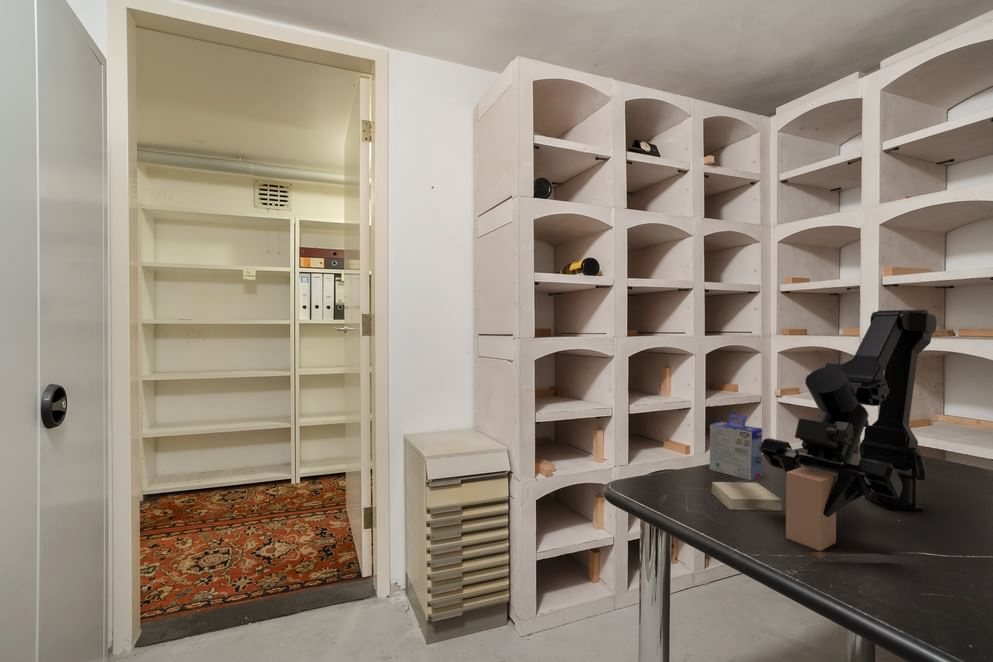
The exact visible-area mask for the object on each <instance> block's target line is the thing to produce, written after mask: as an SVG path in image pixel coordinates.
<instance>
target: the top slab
mask: <svg viewBox="0 0 993 662" xmlns="http://www.w3.org/2000/svg"><path fill="white" fill-rule="evenodd" d="M711 491H712V492H713V493H714V494H715V495H716V496H717V497H718V498H720V499H721V500H722V501H723V502H724V503H725V504H726V505H727V506H728V507H729V508H731V509H735V511H736V510H737V511H770V510H780V511H782V510H783V509H782V505H783V503H782V499H781V497H778V496H777V495H775V494H774V493H772V491H769V489H767V488H765V487H764V486H762V485H761V484H760V483H758V482H741V481H740V482H737V481H735V482H734V481H733V482H732V481H731V482H730V481H726V482H725V481H712V482H711ZM712 492H711V493H712ZM713 493H712V494H713ZM714 494H713V495H714ZM715 495H714V496H715ZM716 496H715V497H716ZM717 497H716V498H717ZM718 498H717V499H718ZM726 505H725V506H726ZM727 506H726V507H727ZM728 507H727V508H728ZM729 508H728V509H729Z"/></svg>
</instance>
